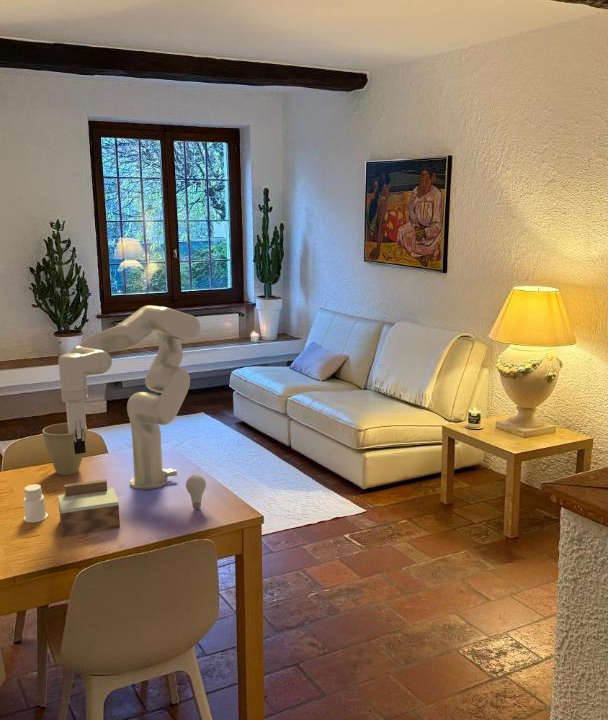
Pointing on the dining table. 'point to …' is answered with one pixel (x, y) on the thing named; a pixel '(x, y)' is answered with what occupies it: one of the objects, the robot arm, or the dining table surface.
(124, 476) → the dining table surface
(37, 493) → the downlight
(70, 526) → the toolbox
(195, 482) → the lightbulb
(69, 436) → the plant pot
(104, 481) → the toolbox lid
